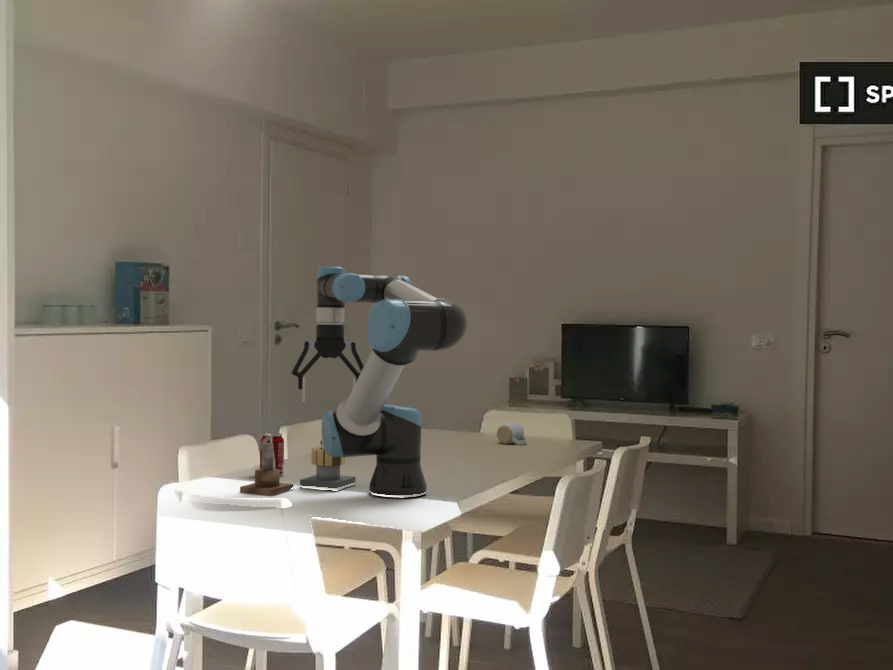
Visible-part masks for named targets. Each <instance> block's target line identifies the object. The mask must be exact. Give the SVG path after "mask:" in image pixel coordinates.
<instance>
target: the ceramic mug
mask: <svg viewBox="0 0 893 670" xmlns="http://www.w3.org/2000/svg"><path fill="white" fill-rule="evenodd" d="M496 437H497V440H498V441H499V442H500V443H501V444H504V445H510V444H516V445H518V446H525V445H526V444H527V438H526V437H525V430H524V428H523V426H522V424H520V423H519V422H516V421H512V422H508V423H505V424H501V426H500V427H498V429H497V431H496Z"/></svg>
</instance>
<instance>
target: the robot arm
mask: <svg viewBox="0 0 893 670" xmlns="http://www.w3.org/2000/svg"><path fill="white" fill-rule="evenodd" d="M345 303H349V304H350V303H367V304H369V303H372V304H373V303H374V306H373V307H372V309H371V311H370V313H369V315H368V318H367V325H366V339H367V342H368V344H369V346H370V349H371V350H370V353H369V355H368V357H367V358H366V361H365V363H364V364H363V361H362V359H361V358H360V356H359V354H358V352H357V348H356V347H357V346H356V343H355V341H351V342H345V326H344V324H343V323H345V311H346V310H345V309H346V308H345ZM375 303H376V304H375ZM466 314H467V313H465V310H464V309H463V308H462V306H460V305H459V304H458V303H457V302H455V301H453V300H451V299H448V298H444V297H443V298H442V297H440V298H438V297H435V296H434V295H432V294H430V293H428V292H426V291H424V290H422V289H421V288H418V287H416V286H414V285H413V282H412V281H411V278H410V277H409V276H406V275H399V274H392V275H391V274H370V273H368V274H365V273H354V272H346V269H345V268H344V267H341V266H320V267H319V268H318V269H317V277H316V320H315V321H316V322H317V323H318V324H317V325H316V327H315V328H316V330H315V332H316V333H315V342H311V341H309V340H306V341H304V346H303V350H302V352H301V353H300V355H299V357H298V359H297V362H296V363H295V365H294V366H293V369H292V371H291V375H292V376H296V377H297V380H298V383H297V385H298V386H297V387H298V390H301V392H302V393H301V394H302V395H301V396H302V398H301V401H302V402H301V403H306V376H305V374H307V372H308V371H309V370H310V369H311V368H312V367H313V365H314V364H315V363H316V362H317V361H318V360H319V359H320V358H323V359H329V358H330V359H331V358H332V359H337V358H338V357H339V358H340V360H341V361H342V362H343V363H344V364H345V366H346V367H348V369H349V370H350V372H351V373H352V374H353V375H354V376H355V377H353V378H352V390H351V393H350V394H349V396H348V398H346V399H343V400H342V401H341V402H340V403H339V404H338V405H337V407H336V409H335V411H332V410H329V411H325V413H323V415H322V418H321V439H322V438H323V443H324V447H325V450H326V452H327V453H328V454H329V455H330V456H332V457H342V458H343V457H345V458H350V457H352V458H353V457H363V456H365V457H367V456H376V462H375V467H374V470H373V473H372V475H371V479H370V482H369V486H368V492H369V491H371V492H373V493H377V494H385V495H413V494H421V493H424V492H426V491H427V490H428V489H427V488H428V487H427V486H428V485H427V482H426V479H425V475H424V472H423V469H422V465H421V456H422V455H421V454H422V448H421V447H422V428H423V425H422V416H421V415H422V414H421V412H420V411H419V409H417V408H413V407H408V406H407V407H406V406H401V405H393V404H386V401H387V399H388V398H389V396H390V394H391V392H392V391H393V389H394V387H395V384H396V382H397V380H398V379H399V377H400V376H401V375H400V374H401V373H402V371H403V369H404V367H406V366H409V365H411V364H412V363H413V362H415V360H416V358H417V356H418V355H419V353H420V352H426V351H427V352H429V351H430V352H432V351H433V352H435V351H436V352H438V351H440V352H441V351H444V350H445V351H446V350H449V349H451V348H453V347H455V346H457V344H459V342H461V341H462V340H463V338H464V336H465V335H466V332H467V328H468V317H467V315H466ZM313 347H314V348H315V349H316V351H317V353H316V354H314V356H313V357H312V358H311V359H310V360H309V362H307V363H306V365H305V366H304V367H303V368H302V369H301V371H298V370H299V369H300V367H301V365H302V364H303V361H304V359H305V358H306V356H307V354H308V351H310V350H311V349H312V348H313ZM345 348H347V349H348V350H349V351H351V353H352V355H353V357H354V360H355V362H356V364H357V366H358V368H359V370H360V372H358V371H357V369H356V368H355V367H354V366H353V364H352V363H351V361H350V360H349V359H348V358H347V357H346V356H345V355H344V353H343V351H344V350H345ZM304 376H305V377H304ZM427 492H428V491H427Z"/></svg>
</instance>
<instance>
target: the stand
mask: <svg viewBox="0 0 893 670" xmlns="http://www.w3.org/2000/svg"><path fill="white" fill-rule="evenodd" d="M280 477H281V476H280V470H279V469H273V443H263V444H262V469H260V468H258V469H255V470H254V482H253V483H250V484H245V485H242V486H241V485H240V486H239V493H241V494H248V495H249V494H253V495H259V496H261V495H262V496H269V497H273V496H277V495H278V496H279V495H281V494H283V493H284V494H285V493H287V492H290V491H289V490H290V489H291V488H292V487H293V488H294V484H293V483H286V482H280Z"/></svg>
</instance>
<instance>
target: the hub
mask: <svg viewBox="0 0 893 670" xmlns="http://www.w3.org/2000/svg"><path fill="white" fill-rule="evenodd" d="M321 440H322V445H321V447H322V450H325V447H324V443H323V438H322V437H321ZM315 466H316V473H315V474H313V475H311V476H308V477H304V478H300V479H299V486H300V485H302V486H316V487H328V488H338V487H342V486H345V485H348V484H351V483H354V482H355V483H356V481H357V480H356V479H357V476H351V475H341V465H337V466H319V465H315Z"/></svg>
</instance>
